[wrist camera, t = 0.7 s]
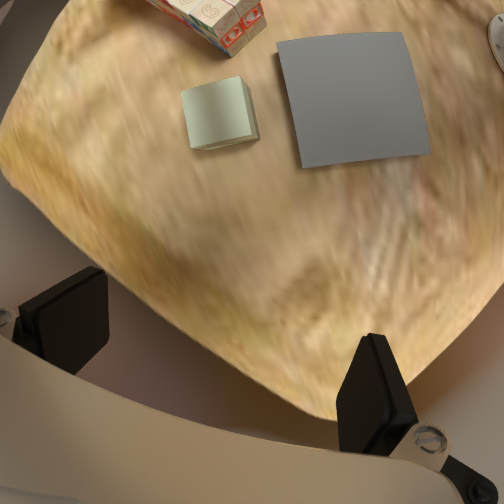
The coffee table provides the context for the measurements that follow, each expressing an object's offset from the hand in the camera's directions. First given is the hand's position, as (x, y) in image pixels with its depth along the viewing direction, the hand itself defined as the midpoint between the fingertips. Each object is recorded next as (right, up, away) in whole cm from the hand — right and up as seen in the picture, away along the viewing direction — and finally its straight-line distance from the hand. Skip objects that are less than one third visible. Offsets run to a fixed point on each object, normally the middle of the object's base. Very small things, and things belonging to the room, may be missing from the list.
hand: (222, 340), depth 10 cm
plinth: (+12, +20, +20) cm, 30 cm away
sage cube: (-2, +18, +23) cm, 29 cm away
